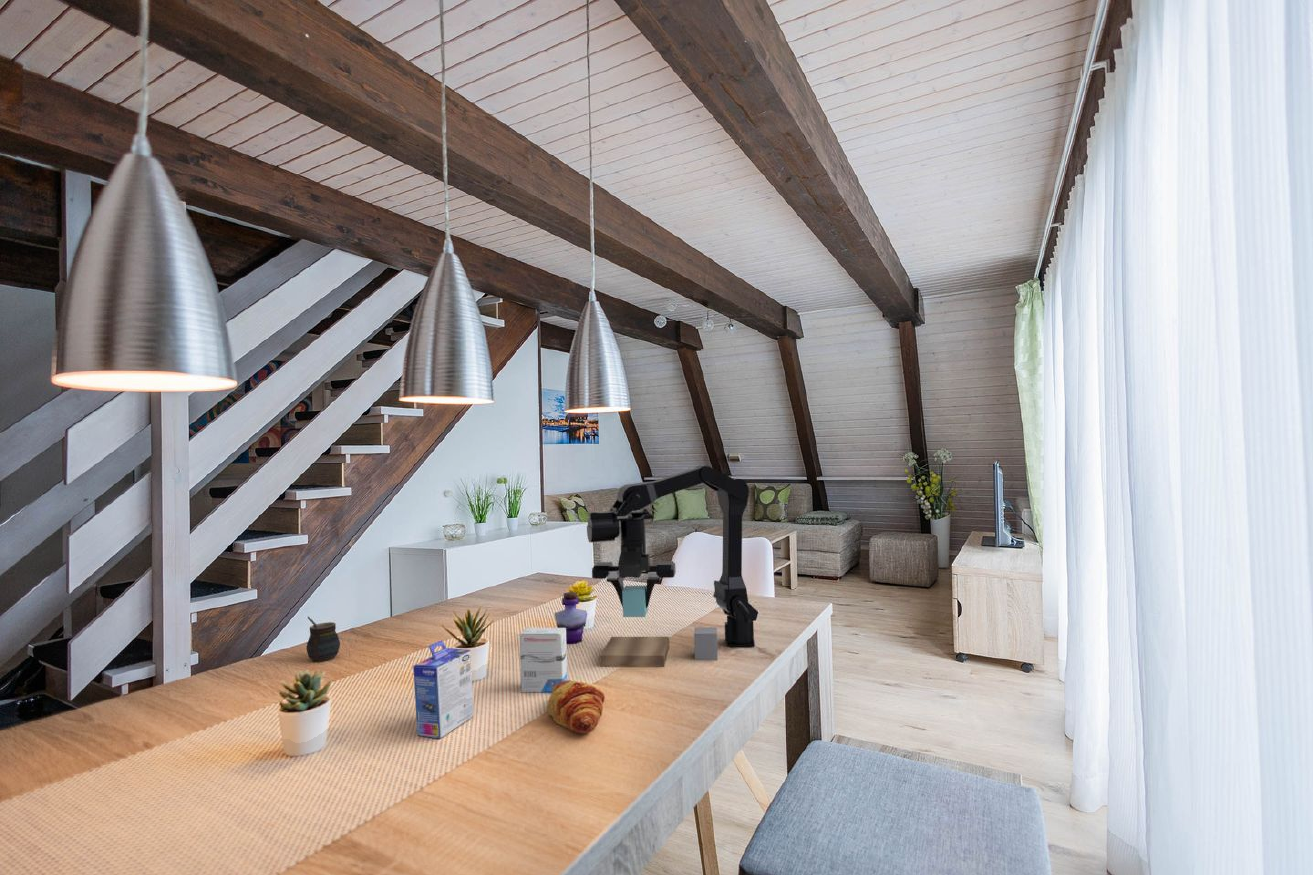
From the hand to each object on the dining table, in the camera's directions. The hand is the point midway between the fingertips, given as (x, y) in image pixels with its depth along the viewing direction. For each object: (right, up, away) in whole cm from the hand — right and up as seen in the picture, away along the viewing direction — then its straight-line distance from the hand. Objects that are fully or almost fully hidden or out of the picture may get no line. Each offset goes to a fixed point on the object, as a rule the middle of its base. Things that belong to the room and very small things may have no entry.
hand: (635, 607), depth 151 cm
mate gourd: (-74, -14, +5) cm, 76 cm away
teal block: (0, -2, 0) cm, 2 cm away
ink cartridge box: (-32, -12, -35) cm, 49 cm away
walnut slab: (0, -12, 0) cm, 12 cm away
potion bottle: (-16, -12, +14) cm, 25 cm away
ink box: (-18, -12, -18) cm, 28 cm away
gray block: (+16, -11, -2) cm, 20 cm away
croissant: (-9, -12, -32) cm, 36 cm away
